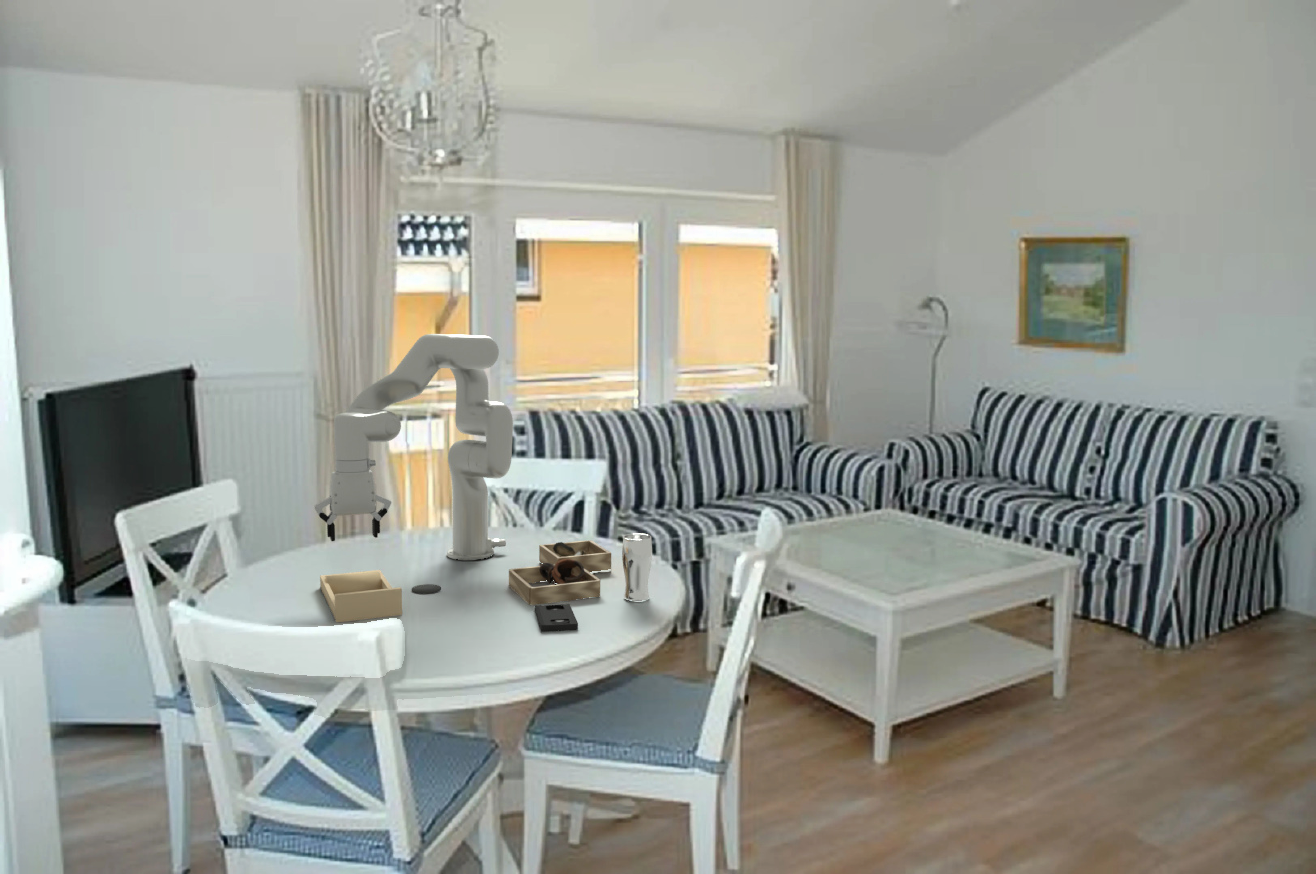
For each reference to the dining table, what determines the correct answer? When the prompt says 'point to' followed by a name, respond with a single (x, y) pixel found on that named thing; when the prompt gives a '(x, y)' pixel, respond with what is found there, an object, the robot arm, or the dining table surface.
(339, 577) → the wooden drawer
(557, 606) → the vhs tape
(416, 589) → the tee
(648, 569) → the beer glass
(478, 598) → the dining table surface
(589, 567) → the wooden tray
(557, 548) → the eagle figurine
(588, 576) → the shallow wooden box
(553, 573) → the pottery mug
